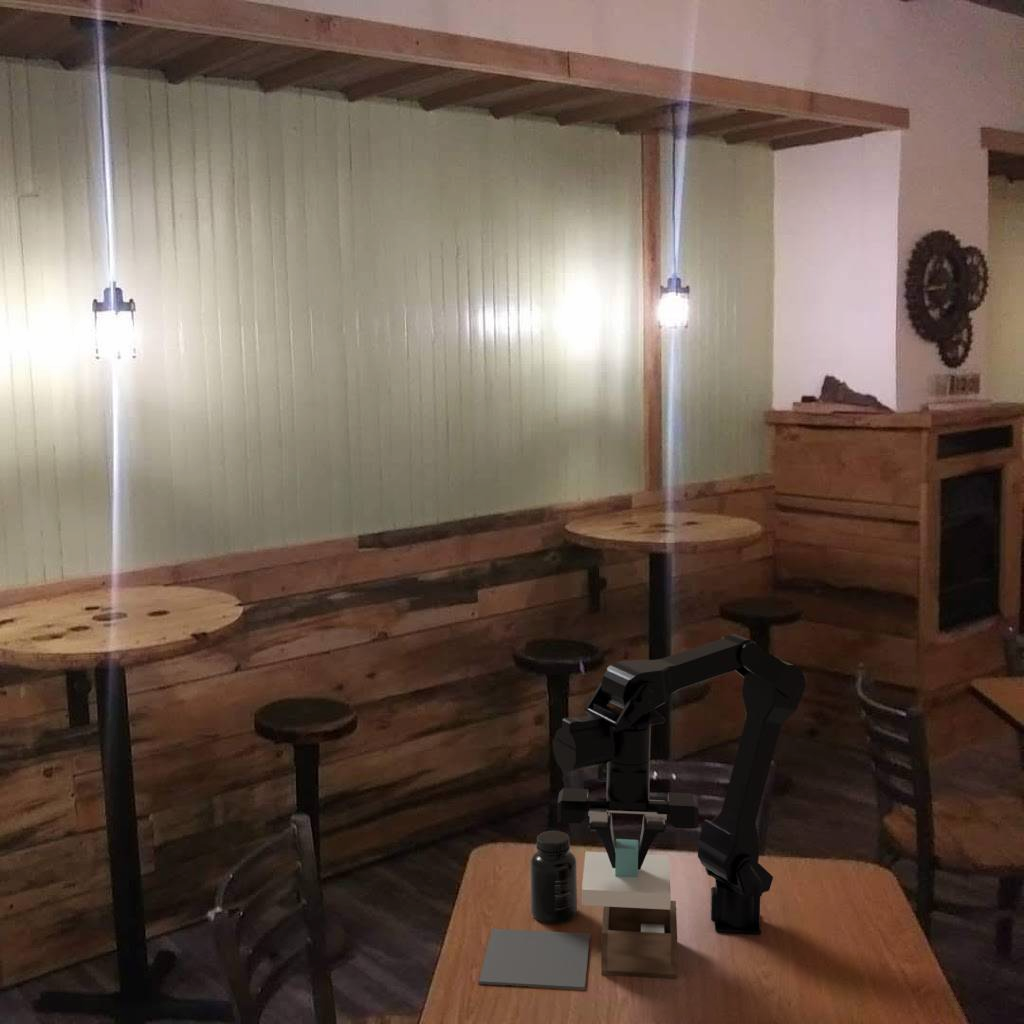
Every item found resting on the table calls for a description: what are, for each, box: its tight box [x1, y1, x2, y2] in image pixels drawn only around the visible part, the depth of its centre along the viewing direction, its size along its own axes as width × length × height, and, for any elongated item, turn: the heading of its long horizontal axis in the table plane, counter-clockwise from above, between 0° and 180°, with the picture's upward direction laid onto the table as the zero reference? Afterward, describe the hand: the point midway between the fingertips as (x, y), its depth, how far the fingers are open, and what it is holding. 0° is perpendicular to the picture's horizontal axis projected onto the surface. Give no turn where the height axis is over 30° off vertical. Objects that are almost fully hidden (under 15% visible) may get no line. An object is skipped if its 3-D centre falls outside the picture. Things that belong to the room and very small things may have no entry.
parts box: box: [600, 900, 678, 980], centre depth 169 cm, size 10×10×6 cm
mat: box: [478, 928, 591, 991], centre depth 169 cm, size 14×14×1 cm
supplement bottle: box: [529, 830, 578, 925], centre depth 180 cm, size 7×7×12 cm
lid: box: [581, 838, 672, 910], centre depth 167 cm, size 12×12×6 cm
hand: (626, 867), depth 167 cm, fingers closed on lid, 3 cm apart
